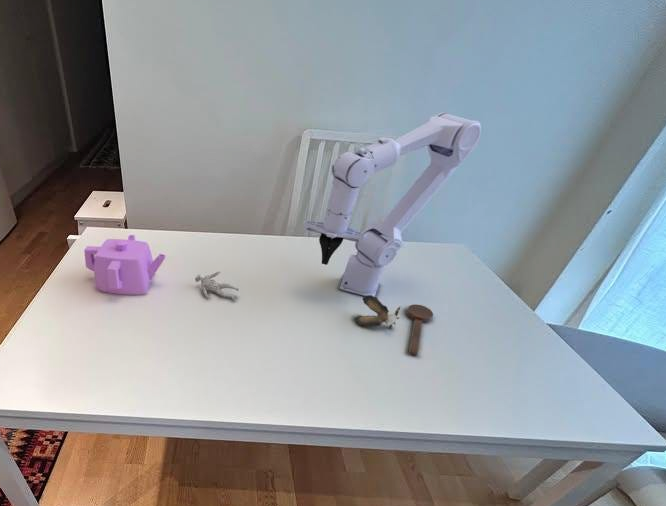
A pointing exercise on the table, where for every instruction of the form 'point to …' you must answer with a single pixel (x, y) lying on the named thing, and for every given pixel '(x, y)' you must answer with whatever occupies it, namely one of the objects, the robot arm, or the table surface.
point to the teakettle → (122, 265)
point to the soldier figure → (214, 285)
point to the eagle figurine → (380, 310)
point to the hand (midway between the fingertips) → (324, 262)
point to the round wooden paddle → (417, 324)
